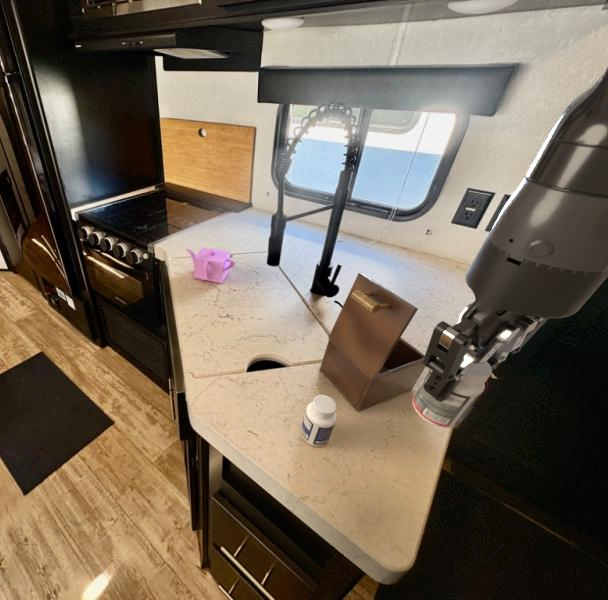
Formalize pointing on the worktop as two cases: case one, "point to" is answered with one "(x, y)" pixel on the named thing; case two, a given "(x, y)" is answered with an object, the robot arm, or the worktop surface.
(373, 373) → the lid
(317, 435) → the pill bottle
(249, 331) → the worktop surface
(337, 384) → the chest
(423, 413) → the pill bottle
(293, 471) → the worktop surface
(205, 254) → the teapot
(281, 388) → the worktop surface
